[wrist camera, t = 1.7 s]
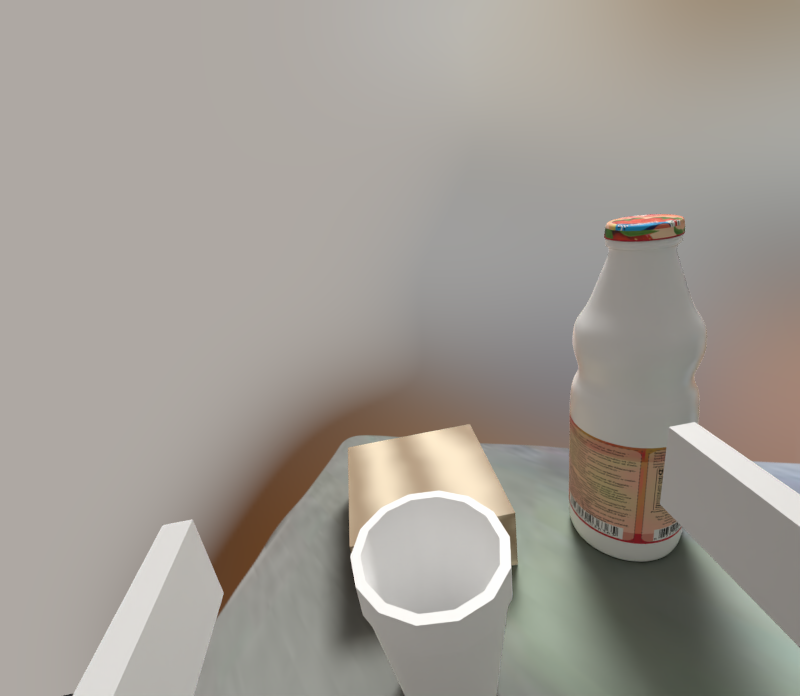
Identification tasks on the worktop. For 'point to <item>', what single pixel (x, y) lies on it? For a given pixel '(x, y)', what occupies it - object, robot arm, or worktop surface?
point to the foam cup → (436, 591)
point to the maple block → (424, 475)
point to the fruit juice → (632, 388)
